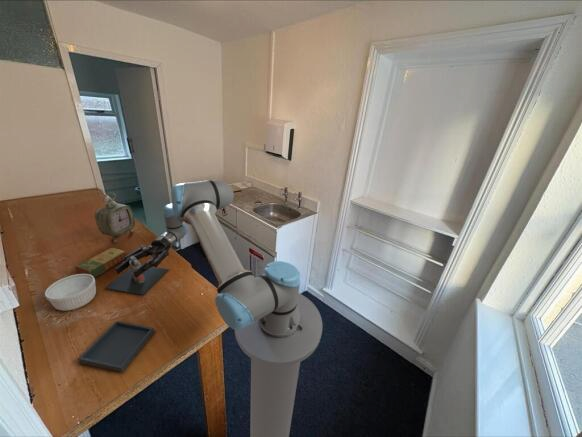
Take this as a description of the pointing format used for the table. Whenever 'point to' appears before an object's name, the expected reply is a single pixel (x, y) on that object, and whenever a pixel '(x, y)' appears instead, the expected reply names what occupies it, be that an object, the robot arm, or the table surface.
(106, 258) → the carton
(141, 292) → the mat
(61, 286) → the ramekin
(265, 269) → the robot arm
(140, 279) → the lighter
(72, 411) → the table surface
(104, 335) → the tray
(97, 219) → the tabletop clock
